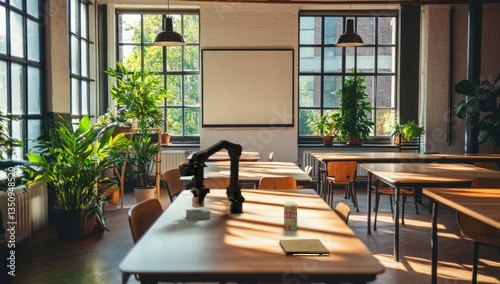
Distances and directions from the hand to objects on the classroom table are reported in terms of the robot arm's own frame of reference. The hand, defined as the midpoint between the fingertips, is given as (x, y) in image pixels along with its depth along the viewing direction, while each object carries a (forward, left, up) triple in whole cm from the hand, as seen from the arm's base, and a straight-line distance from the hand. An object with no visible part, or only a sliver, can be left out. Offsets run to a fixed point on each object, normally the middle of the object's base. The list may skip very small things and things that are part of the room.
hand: (198, 204), depth 269 cm
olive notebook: (-15, +80, -8) cm, 82 cm away
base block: (0, 0, -7) cm, 7 cm away
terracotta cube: (0, 0, -1) cm, 1 cm away
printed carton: (-35, +39, -8) cm, 53 cm away
